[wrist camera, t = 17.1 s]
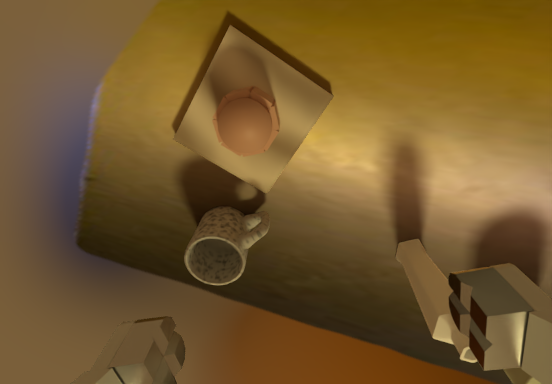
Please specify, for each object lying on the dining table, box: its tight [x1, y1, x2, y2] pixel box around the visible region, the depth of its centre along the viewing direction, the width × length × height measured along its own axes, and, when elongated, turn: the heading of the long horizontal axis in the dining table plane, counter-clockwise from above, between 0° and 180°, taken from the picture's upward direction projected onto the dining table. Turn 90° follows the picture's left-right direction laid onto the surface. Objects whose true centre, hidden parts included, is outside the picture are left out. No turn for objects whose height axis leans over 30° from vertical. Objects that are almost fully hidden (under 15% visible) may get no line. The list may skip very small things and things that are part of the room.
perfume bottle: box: [395, 239, 477, 363], centre depth 33 cm, size 5×4×15 cm
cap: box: [212, 86, 280, 157], centre depth 31 cm, size 6×6×4 cm
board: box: [173, 25, 334, 194], centre depth 33 cm, size 13×12×1 cm
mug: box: [184, 206, 270, 285], centre depth 36 cm, size 10×7×7 cm
